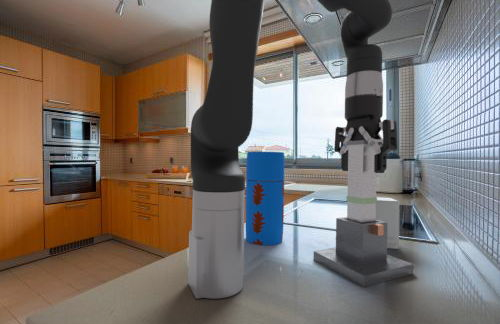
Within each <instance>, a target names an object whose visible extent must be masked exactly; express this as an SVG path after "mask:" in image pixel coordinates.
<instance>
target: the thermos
mask: <svg viewBox="0 0 500 324" xmlns="http://www.w3.org/2000/svg"><path fill="white" fill-rule="evenodd" d="M285 162H286V161H285V153H284V152H280V151H247V153H246V169H245V170H246V175H245V239H246V242H248V243H250V244H253V245H259V246H276V245H279V244H281V243H282V242H283V239H284V237H283V236H284V221H285V220H284V217H285V215H284V212H285V209H284V208H285V207H284V205H285Z"/></svg>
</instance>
